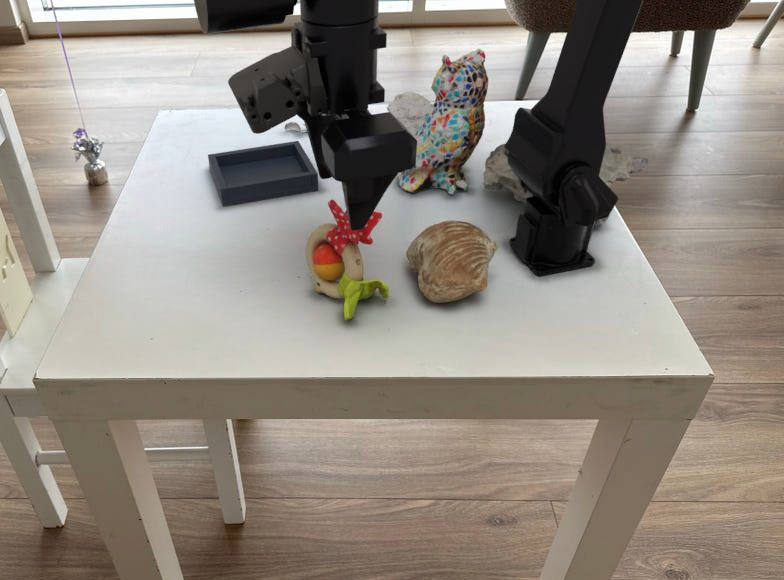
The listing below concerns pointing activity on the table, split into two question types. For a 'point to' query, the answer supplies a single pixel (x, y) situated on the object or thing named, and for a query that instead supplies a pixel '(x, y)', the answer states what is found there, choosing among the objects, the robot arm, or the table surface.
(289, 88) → the robot arm
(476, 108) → the figurine
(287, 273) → the table surface
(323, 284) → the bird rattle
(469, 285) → the seashell
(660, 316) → the table surface
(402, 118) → the stone
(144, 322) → the table surface
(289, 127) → the toy
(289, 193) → the display tray
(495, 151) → the fossil rock
